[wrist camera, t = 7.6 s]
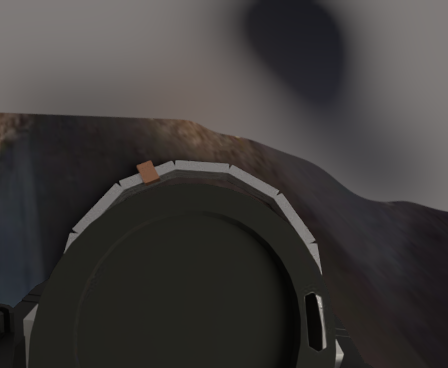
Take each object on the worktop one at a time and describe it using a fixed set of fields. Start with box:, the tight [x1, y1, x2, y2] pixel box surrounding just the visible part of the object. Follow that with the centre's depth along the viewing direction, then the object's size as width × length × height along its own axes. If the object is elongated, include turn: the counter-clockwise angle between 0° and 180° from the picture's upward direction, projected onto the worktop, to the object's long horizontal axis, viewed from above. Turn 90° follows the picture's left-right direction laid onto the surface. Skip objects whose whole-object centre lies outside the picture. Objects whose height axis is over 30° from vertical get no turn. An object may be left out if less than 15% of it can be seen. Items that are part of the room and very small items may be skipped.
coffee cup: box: [28, 184, 336, 368], centre depth 15 cm, size 10×10×15 cm
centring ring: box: [64, 160, 322, 310], centre depth 34 cm, size 31×30×3 cm
